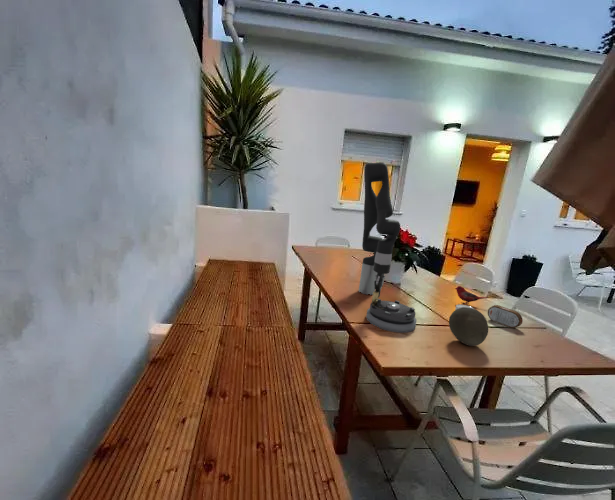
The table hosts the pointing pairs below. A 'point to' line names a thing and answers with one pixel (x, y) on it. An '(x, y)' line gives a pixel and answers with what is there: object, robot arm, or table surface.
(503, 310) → the tin
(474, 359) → the table surface
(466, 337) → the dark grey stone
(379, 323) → the base plate
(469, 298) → the decorative bird figurine
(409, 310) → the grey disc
